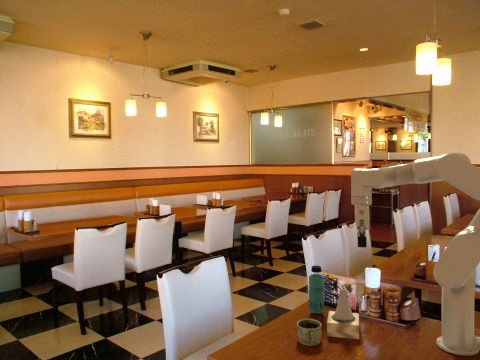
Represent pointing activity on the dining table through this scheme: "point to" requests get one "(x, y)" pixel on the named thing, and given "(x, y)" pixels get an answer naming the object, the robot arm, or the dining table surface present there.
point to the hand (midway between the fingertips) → (361, 244)
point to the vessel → (309, 331)
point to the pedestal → (343, 326)
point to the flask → (343, 307)
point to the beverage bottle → (316, 290)
